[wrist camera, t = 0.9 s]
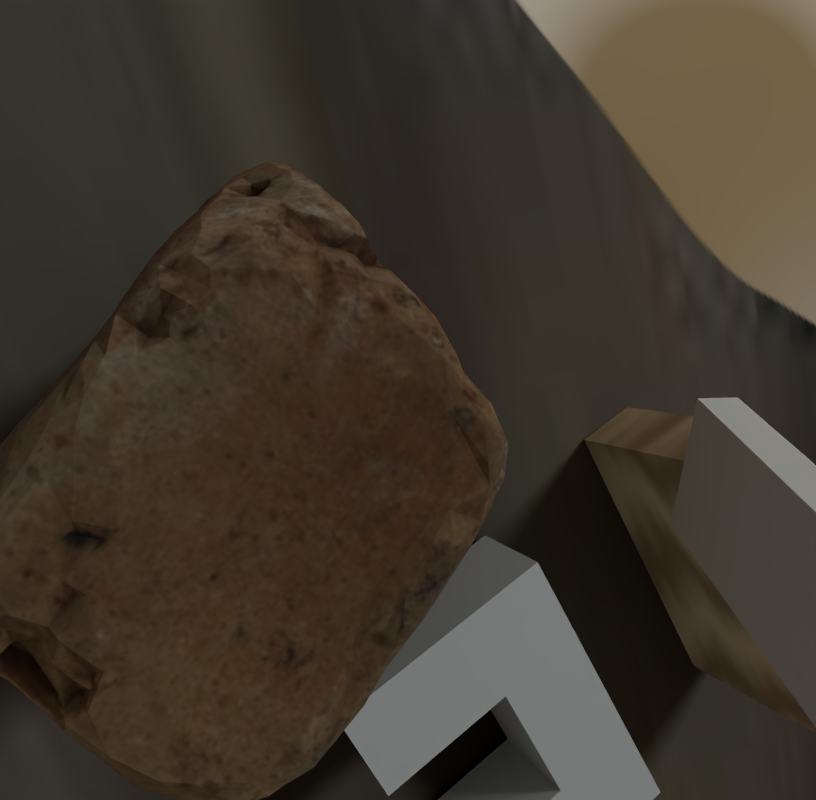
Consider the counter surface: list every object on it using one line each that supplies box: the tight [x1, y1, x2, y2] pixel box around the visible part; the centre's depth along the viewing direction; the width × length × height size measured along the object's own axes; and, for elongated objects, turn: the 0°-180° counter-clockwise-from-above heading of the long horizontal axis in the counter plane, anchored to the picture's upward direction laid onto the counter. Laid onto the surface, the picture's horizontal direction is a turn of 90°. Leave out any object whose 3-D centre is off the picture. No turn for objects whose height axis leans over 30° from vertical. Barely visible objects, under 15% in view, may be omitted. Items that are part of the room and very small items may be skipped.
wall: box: [584, 407, 816, 733], centre depth 36 cm, size 15×3×8 cm, turn 30°
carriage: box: [344, 536, 660, 800], centre depth 33 cm, size 14×10×4 cm
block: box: [0, 162, 509, 800], centre depth 20 cm, size 11×8×20 cm
